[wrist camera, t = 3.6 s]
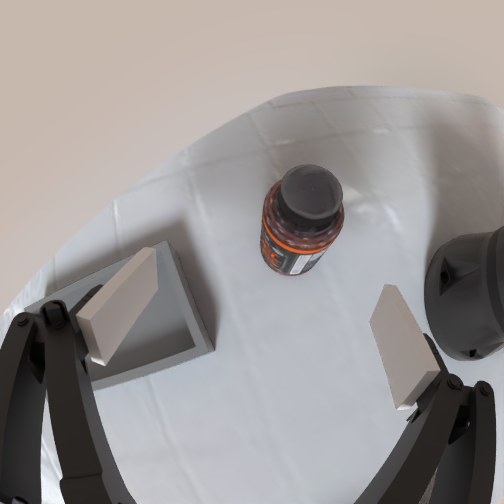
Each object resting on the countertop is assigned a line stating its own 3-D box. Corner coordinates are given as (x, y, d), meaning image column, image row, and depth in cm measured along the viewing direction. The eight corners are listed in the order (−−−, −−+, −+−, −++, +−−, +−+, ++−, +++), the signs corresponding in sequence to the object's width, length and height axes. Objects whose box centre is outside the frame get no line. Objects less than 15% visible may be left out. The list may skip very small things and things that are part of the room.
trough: (176, 252, 27) (162, 234, 22) (215, 350, 24) (206, 352, 19) (42, 313, 24) (16, 306, 20) (65, 398, 21) (39, 402, 17)
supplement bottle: (248, 237, 27) (246, 170, 16) (298, 212, 28) (321, 140, 17) (279, 289, 26) (298, 250, 15) (330, 259, 26) (375, 206, 16)
